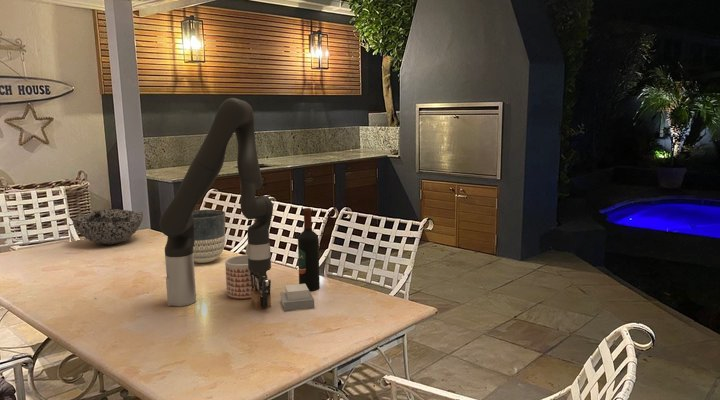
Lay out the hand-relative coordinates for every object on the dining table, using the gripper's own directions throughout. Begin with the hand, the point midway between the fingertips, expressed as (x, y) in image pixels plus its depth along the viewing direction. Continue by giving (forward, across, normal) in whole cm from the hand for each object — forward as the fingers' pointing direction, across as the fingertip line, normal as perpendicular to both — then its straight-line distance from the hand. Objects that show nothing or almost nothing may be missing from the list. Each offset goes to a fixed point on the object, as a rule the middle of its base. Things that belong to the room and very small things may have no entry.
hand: (261, 304), depth 184 cm
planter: (+1, +66, +2) cm, 66 cm away
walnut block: (+1, 0, 0) cm, 1 cm away
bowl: (+1, +125, +34) cm, 130 cm away
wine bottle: (+1, +9, -22) cm, 24 cm away
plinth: (+1, -5, -11) cm, 12 cm away
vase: (+1, +16, 0) cm, 16 cm away
